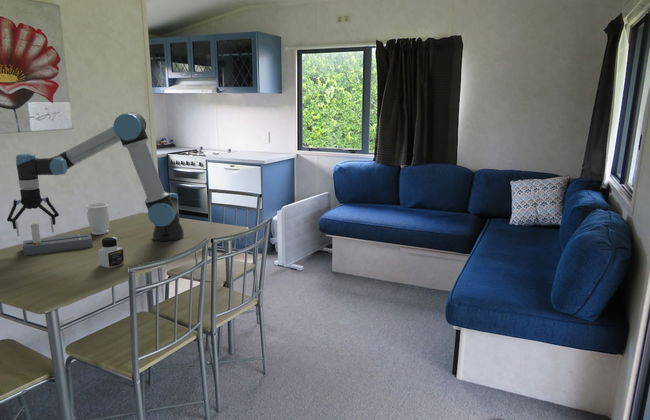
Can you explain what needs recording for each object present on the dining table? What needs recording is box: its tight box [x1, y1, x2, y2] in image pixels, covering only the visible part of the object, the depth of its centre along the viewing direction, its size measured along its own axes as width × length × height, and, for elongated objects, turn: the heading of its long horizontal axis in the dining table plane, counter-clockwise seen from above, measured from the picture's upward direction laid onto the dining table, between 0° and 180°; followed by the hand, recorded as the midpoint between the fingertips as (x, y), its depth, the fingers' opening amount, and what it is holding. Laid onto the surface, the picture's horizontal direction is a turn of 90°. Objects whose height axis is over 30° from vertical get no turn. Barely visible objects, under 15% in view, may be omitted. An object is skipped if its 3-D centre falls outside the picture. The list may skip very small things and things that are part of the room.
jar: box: [86, 202, 111, 236], centre depth 247 cm, size 11×10×15 cm
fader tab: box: [30, 220, 42, 243], centre depth 217 cm, size 3×6×11 cm, turn 31°
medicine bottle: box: [97, 236, 125, 269], centre depth 200 cm, size 7×7×12 cm
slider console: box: [22, 232, 94, 256], centre depth 223 cm, size 28×11×4 cm, turn 121°
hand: (35, 233), depth 217 cm, fingers open, 13 cm apart
